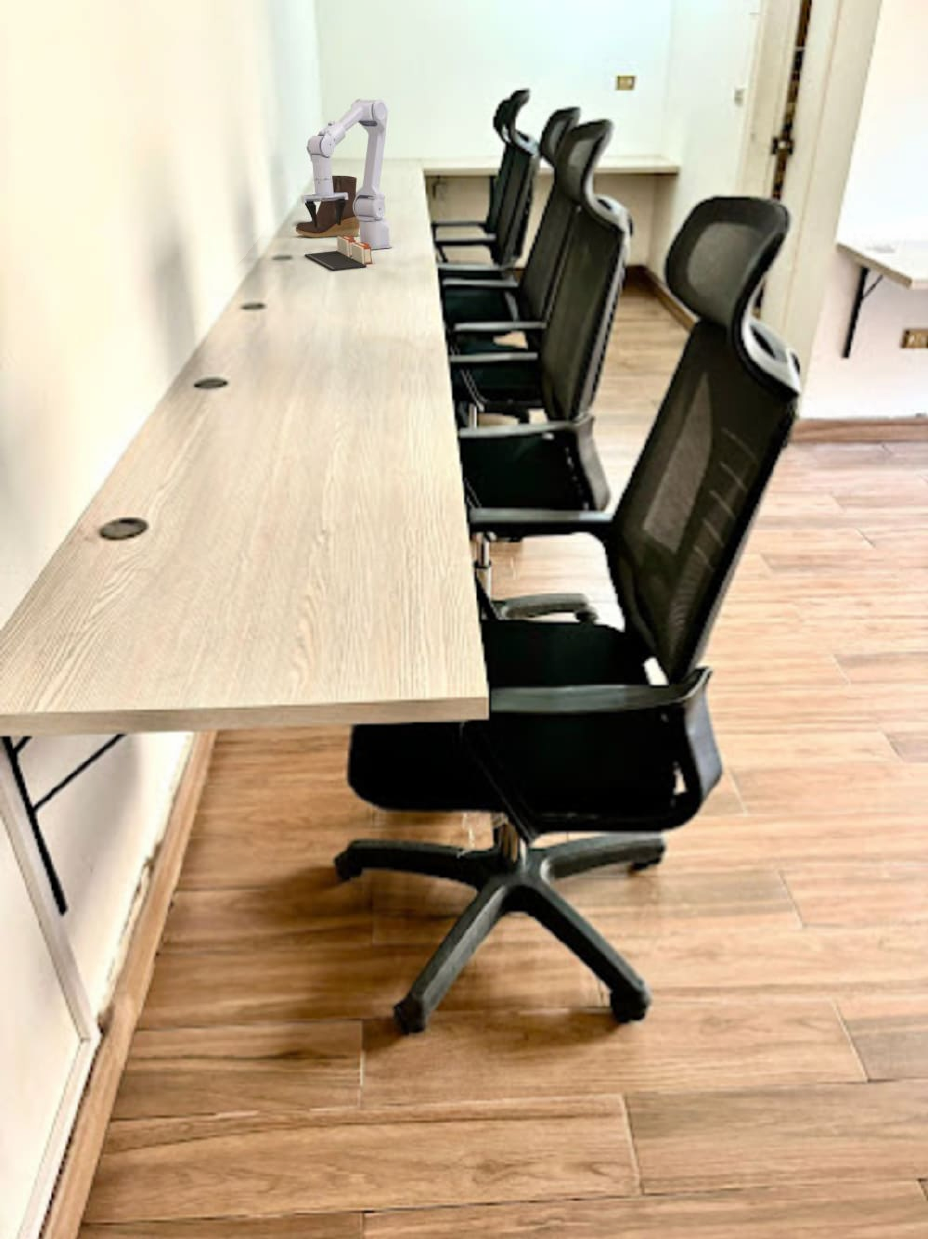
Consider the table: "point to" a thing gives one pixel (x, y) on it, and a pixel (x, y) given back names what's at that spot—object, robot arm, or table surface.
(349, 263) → the shoe mat
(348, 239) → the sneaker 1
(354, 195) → the boot
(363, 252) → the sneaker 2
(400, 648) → the table surface
